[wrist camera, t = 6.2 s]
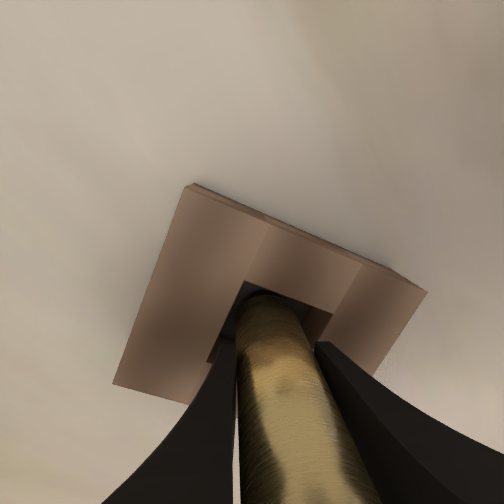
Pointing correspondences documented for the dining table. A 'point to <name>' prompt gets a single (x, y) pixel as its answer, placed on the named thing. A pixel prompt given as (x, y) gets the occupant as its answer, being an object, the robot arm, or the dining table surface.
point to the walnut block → (253, 294)
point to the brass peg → (290, 416)
